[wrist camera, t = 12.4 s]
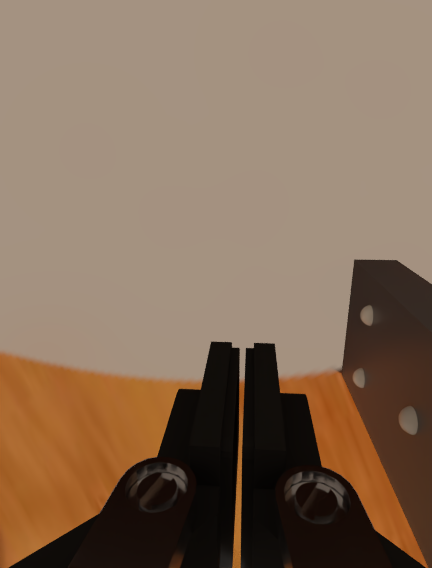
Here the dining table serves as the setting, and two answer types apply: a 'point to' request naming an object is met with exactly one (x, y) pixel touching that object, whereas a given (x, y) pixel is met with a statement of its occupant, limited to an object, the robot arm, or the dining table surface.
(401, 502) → the domino
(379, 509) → the dining table surface
